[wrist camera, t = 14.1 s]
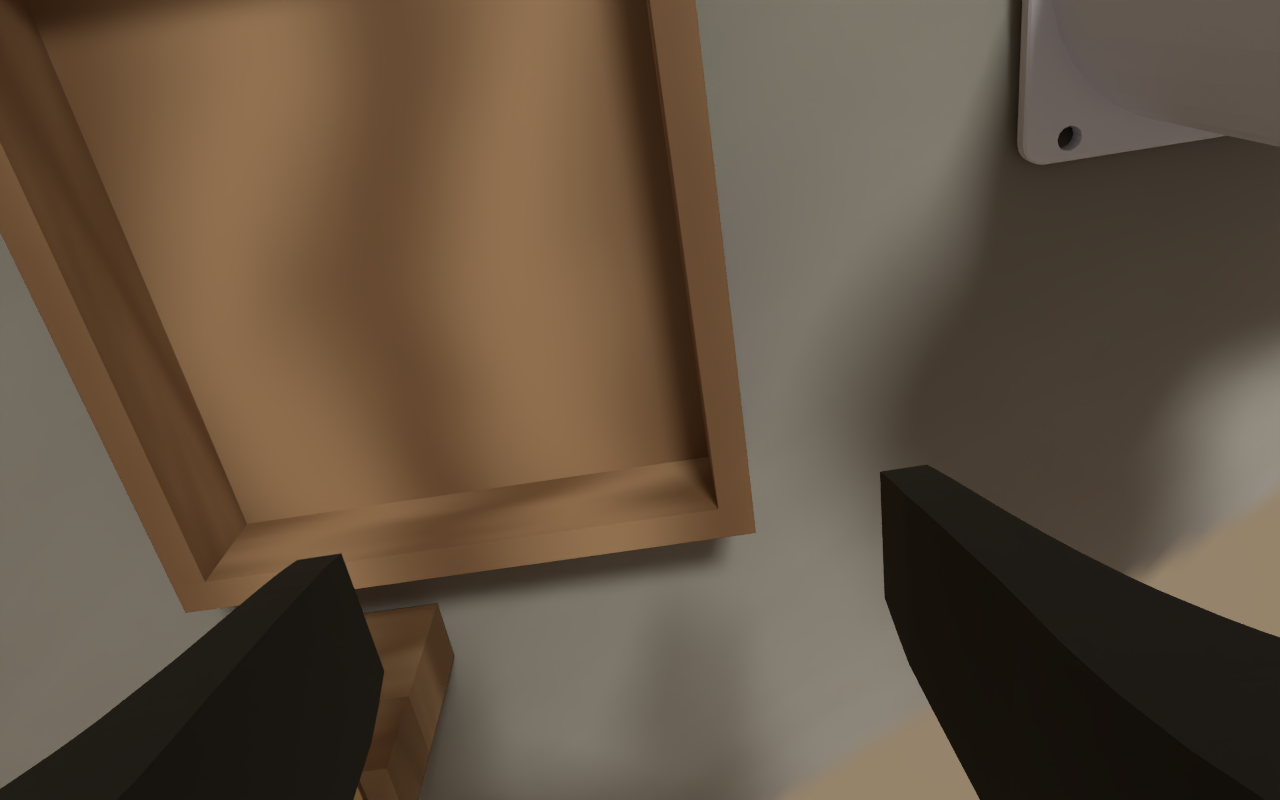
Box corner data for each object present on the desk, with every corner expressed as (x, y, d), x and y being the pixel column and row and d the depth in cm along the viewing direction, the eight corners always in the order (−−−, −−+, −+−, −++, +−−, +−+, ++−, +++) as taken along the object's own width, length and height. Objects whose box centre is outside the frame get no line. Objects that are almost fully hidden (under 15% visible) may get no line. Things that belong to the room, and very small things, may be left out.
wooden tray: (652, -262, 16) (667, -395, 11) (757, 615, 25) (793, 780, 19) (-56, -130, 16) (-373, -194, 11) (295, 677, 25) (210, 853, 20)
